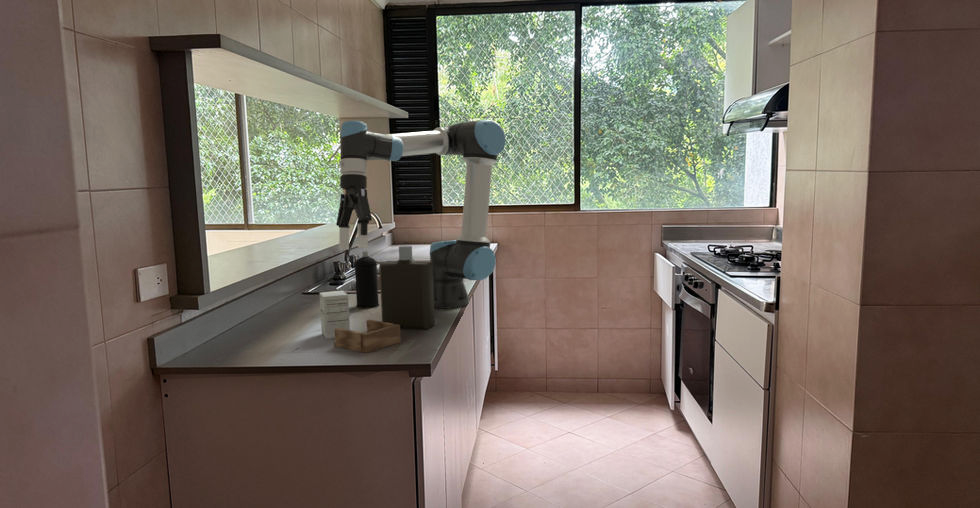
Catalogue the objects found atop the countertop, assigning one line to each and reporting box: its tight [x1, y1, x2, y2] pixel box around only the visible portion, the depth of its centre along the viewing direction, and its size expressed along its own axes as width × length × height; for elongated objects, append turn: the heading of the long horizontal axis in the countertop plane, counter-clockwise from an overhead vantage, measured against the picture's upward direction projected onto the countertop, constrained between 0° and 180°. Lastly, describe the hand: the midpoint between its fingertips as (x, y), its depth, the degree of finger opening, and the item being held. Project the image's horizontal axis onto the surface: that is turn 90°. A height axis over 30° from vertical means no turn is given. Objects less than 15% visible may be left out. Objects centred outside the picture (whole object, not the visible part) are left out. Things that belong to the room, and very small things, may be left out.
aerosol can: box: [353, 250, 380, 309], centre depth 233 cm, size 8×8×20 cm
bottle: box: [379, 245, 436, 330], centre depth 201 cm, size 8×16×25 cm, turn 74°
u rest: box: [333, 319, 402, 354], centre depth 182 cm, size 13×13×5 cm
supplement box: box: [319, 290, 351, 340], centre depth 193 cm, size 7×7×13 cm
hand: (353, 248), depth 187 cm, fingers open, 13 cm apart
